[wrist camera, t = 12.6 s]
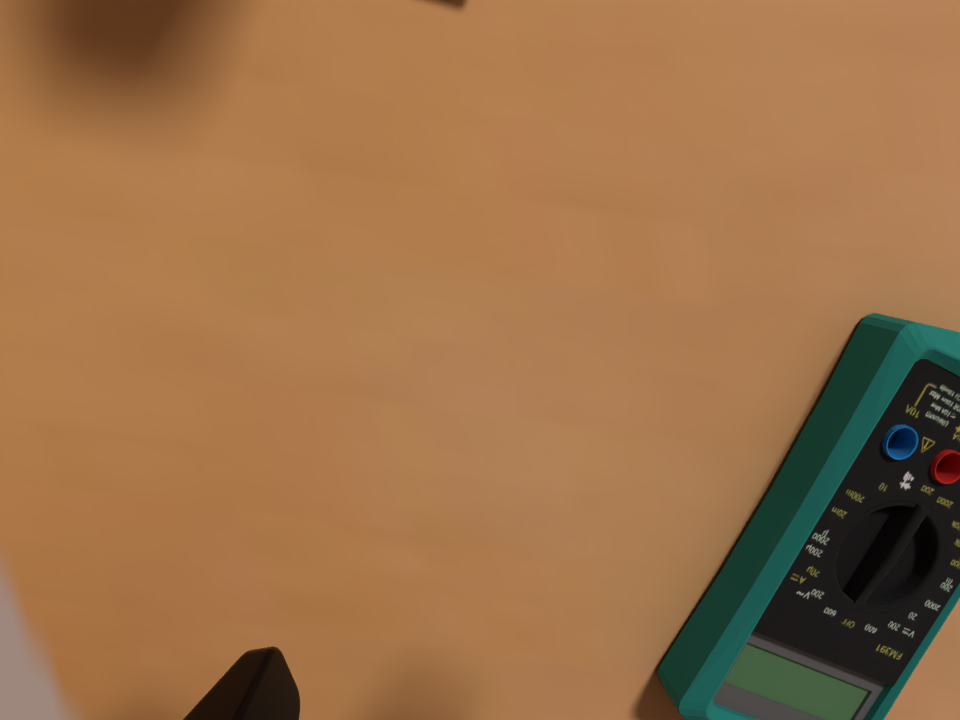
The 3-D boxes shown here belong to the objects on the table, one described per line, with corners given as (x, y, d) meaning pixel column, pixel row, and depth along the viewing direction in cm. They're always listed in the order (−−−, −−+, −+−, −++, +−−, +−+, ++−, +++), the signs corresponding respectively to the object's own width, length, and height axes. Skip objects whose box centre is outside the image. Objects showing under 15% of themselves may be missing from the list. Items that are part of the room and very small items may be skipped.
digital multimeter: (1024, 382, 24) (1112, 407, 21) (804, 730, 26) (857, 796, 23) (863, 290, 22) (935, 303, 19) (642, 670, 24) (677, 733, 21)
